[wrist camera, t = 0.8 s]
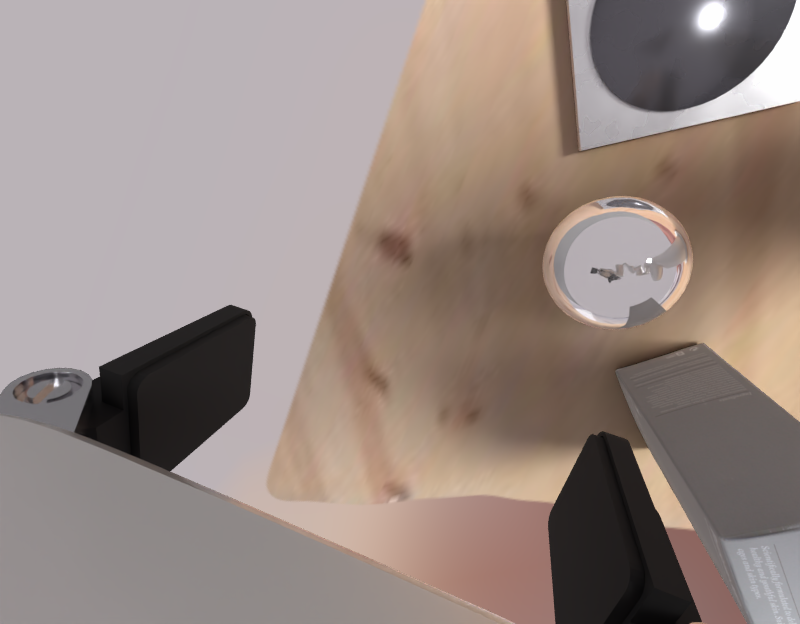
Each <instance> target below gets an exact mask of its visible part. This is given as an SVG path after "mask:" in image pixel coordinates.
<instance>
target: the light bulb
mask: <svg viewBox="0 0 800 624" xmlns="http://www.w3.org/2000/svg"><path fill="white" fill-rule="evenodd" d="M692 268H693V251H692V246H691V243H690V240H689V236H688V234H687V232H686V230H685V229H684V227H683V225H682V224H681V222H680V221H679V220H678V219H677V218H676V217H675V216H674V215H673V214H672V213H671V212H669V211H668V210H666V209H664V208H663V207H661V206H660V205H658V204H656V203H654V202H652V201H649V200H646V199H643V198H639V197H632V196H611V197H606V198H602V199H597V200H594V201H591V202H589V203H587V204H584V205H582V206H580V207H579V208H577V209H576V210H574V211H572V212H571V213H570V214H568V215H567V216H566V217H565V218H564V219H563V220H562V221H561V222H560V223H559V224H558V226H557V227H556V228H555V230H554V231H553V232H552V234H551V236H550V238H549V240H548V242H547V244H546V248H545V252H544V255H543V266H542V271H543V278H544V283H545V285H546V288H547V290H548V293H549V294H550V296H551V297H552V299H553V300H554V302H555V303H556V305H557V306H558V307H559V308H560V309H561V310H562V311H563V312H564V313H565V314H566V315H568V316H570V317H571V318H573V319H574V320H576V321H578V322H580V323H583V324H585V325H588V326H591V327H595V328H600V329H606V330H621V329H629V328H633V327H637V326H640V325H644V324H646V323H648V322H650V321H652V320H654V319H656V318H658V317H659V316H661V315H662V314H664V313H665V312H666V311H668V310H669V309H670V308H671V307H672V306H673V305H674V304H675V303H676V302H677V301H678V300H679V298H680V297H681V295H682V294H683V292H684V291H685V289H686V287H687V285H688V282H689V280H690V278H691V273H692Z"/></svg>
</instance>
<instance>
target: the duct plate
mask: <svg viewBox="0 0 800 624" xmlns="http://www.w3.org/2000/svg"><path fill="white" fill-rule="evenodd" d="M566 6H567V18H568V30H569V42H570V54H571V66H572V78H573V89H574V101H575V113H576V125H577V137H578V149H579V151H582V150H587V149H591V148H595V147H600V146H604V145H609V144H613V143H617V142H622V141H626V140H631V139H635V138H639V137H644V136H648V135H653V134H657V133H662V132H666V131H670V130H675V129H679V128H684V127H688V126H692V125H697V124H701V123H706V122H710V121H715V120H719V119H723V118H728V117H732V116H737V115H741V114H745V113H750V112H754V111H759V110H763V109H767V108H772V107H776V106H781V105H785V104H790V103H794V102H798V101H800V0H566Z"/></svg>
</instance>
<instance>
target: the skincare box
mask: <svg viewBox="0 0 800 624" xmlns="http://www.w3.org/2000/svg"><path fill="white" fill-rule="evenodd" d="M615 372H616V376H617V378H618V381H619V383H620V386H621V389H622V391H623V394H624V396H625V399H626V401H627V403H628V406H629V408H630V411H631V413H632V415H633V418H634V420H635V422H636V424H637V426H638V428H639V430H640V432H641V434H642V436H643V438H644V440H645V442H646V444H647V446H648V448H649V450H650V451H651V453H652V455H653V457H654V459H655V461H656V462H657V464H658V466H659V467H660V469H661V471H662V473H663V474H664V476H665V478H666V480H667V482H668V483H669V485H670V487H671V489H672V490H673V492H674V494H675V495H676V497H677V499H678V501H679V502H680V504H681V506H682V508H683V510H684V511H685V513H686V515H687V517H688V519H689V520H690V522H691V524H692V526H693V528H694V529H695V531H696V533H697V534H698V537H699V538H700V540H701V542H702V544H703V545H704V547H705V549H706V551H707V552H708V554H709V556H710V558H711V559H712V561H713V563H714V565H715V567H716V568H717V570H718V572H719V574H720V575H721V577H722V579H723V581H724V582H725V584H726V586H727V588H728V589H729V591H730V593H731V594H732V596H733V598H734V600H735V602H736V604H737V605H738V607H739V609H740V611H741V613H742V615H743V617H744V618H745V620H746V622H747V624H800V422H799V421H798V420H797V419H795V418H794V417H793V416H792V415H790V414H789V413H788V412H787V411H785V410H784V409H783V408H782V407H781V406H779V405H778V404H777V403H776V402H774V401H773V400H772V399H771V398H770V397H768V396H767V395H766V394H765V393H764V392H762V391H761V390H760V389H759V388H757V387H756V386H755V385H754V384H753V383H751V382H750V381H749V380H748V379H747V378H745V377H744V376H743V375H742V374H741V373H739V372H738V371H737V370H736V369H734V368H733V367H732V366H731V365H729V364H728V363H727V362H726V361H725V360H724V359H722V358H721V357H720V356H719V355H717V354H716V353H715V352H714V351H713V350H712V349H710V348H709V347H708V346H707V345H705V344H704V343H701V344H698V345H694V346H691V347H688V348H685V349H681V350H678V351H675V352H673V353H669V354H666V355H664V356H660V357H657V358H654V359H651V360H648V361H644V362H641V363H638V364H635V365H632V366H628V367H624V368H620V369H617V370H616V371H615Z"/></svg>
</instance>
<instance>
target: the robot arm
mask: <svg viewBox="0 0 800 624" xmlns="http://www.w3.org/2000/svg"><path fill="white" fill-rule="evenodd" d="M255 326H256V322H255V319H254V318H252V315H251V312H250V311H247V310H245V309H242V308H239V307H236V306H233V305H229V306H226V307H224V308H222V309H220V310H218V311H216V312H213V313H211V314H209V315H207V316H205V317H203V318H201V319H199V320H197V321H194V322H193V323H190V324H188V325H186V326H184V327H182V328H180V329H178V330H176V331H174V332H171V333H169V334H167V335H165V336H163V337H161V338H159V339H157V340H155V341H152V342H150V343H148V344H146V345H144V346H142V347H140V348H138V349H136V350H133V351H131V352H129V353H127V354H125V355H123V356H121V357H119V358H117V359H115V360H112V361H111V362H108V363H106V364H104V365H102V366H100V367H99V370H100V377H98V378H96V379H94V380H92V379H91V377H90V376H89V374H87V373H85V372H83V371H81V370H76V369H72V368H54V369H45V370H41V371H37V372H32V373H30V374H27V375H24V376H22V377H19V378H18V379H16V380H14V381H13V382H11V383H10V384H9V385H8V386H7V387H6V388H5V389H4V390H3V391H2V393H1V394H0V624H515V623H513V622H511V621H509V620H507V619H505V618H502V617H500V616H498V615H496V614H494V613H491V612H489V611H487V610H485V609H483V608H480V607H478V606H476V605H474V604H471V603H469V602H467V601H465V600H462V599H460V598H458V597H456V596H453V595H451V594H449V593H447V592H444V591H442V590H440V589H438V588H435V587H433V586H431V585H429V584H426V583H424V582H422V581H420V580H417V579H415V578H412V577H411V576H408V575H406V574H404V573H402V572H399V571H397V570H395V569H392V568H390V567H388V566H386V565H384V564H381V563H379V562H377V561H374V560H372V559H370V558H368V557H366V556H363V555H361V554H359V553H356V552H354V551H352V550H350V549H347V548H345V547H343V546H340V545H338V544H336V543H333V542H331V541H329V540H326V539H325V538H322V537H320V536H318V535H315V534H313V533H311V532H309V531H306V530H304V529H302V528H299V527H297V526H295V525H292V524H290V523H288V522H285V521H283V520H281V519H279V518H276V517H274V516H272V515H270V514H267V513H265V512H263V511H260V510H258V509H256V508H253V507H251V506H249V505H247V504H244V503H242V502H239V501H237V500H235V499H233V498H230V497H228V496H225V495H223V494H221V493H219V492H216V491H214V490H211V489H209V488H207V487H205V486H202V485H200V484H198V483H195V482H193V481H191V480H188V479H186V478H184V477H181V476H179V475H177V474H175V473H172V472H170V471H171V470H172V469H174V468H175V467H176V466H177V465H178V464H179V463H180V462H182V461H183V460H184V459H185V458H186V457H187V456H188V455H190V454H191V453H192V452H193V451H194V450H195V449H197V448H198V447H199V446H200V445H201V444H202V443H203V442H204V441H206V440H207V439H208V438H209V437H210V436H211V435H213V434H214V433H215V432H216V431H217V430H218V429H220V428H221V427H222V426H223V425H224V424H225V423H226V422H227V421H229V420H230V419H231V418H232V417H233V416H234V415H236V414H237V413H238V412H239V411H240V410H241V409H242V408H243V407H244V406H245V405H246V404H247V402H248V400H249V396H250V387H251V375H252V363H253V350H254V339H255ZM548 530H549V544H550V557H551V570H552V583H553V596H554V609H555V622H556V624H706V623H703V622H702V621H701V618H700V615H699V613H698V610H697V608H696V605H695V603H694V600H693V598H692V596H691V593H690V591H689V588H688V585H687V583H686V580H685V578H684V575H683V573H682V570H681V568H680V565H679V563H678V560H677V558H676V555H675V553H674V550H673V548H672V545H671V543H670V540H669V538H668V535H667V532H666V530H665V527H664V525H663V522H662V520H661V517H660V515H659V513H658V512H657V510H656V509H655V507H654V505H653V502H652V500H651V497H650V494H649V492H648V489H647V487H646V484H645V482H644V479H643V477H642V474H641V472H640V469H639V466H638V464H637V461H636V459H635V456H634V454H633V451H632V449H631V446H630V443H629V442H628V440H626V439H624V438H621V437H618V436H615V435H612V434H609V433H606V432H603V431H602V432H600V433H599V434H598V435H594V434H591V435H590V436H589V438H588V439H587V441H586V443H585V445H584V447H583V449H582V451H581V453H580V455H579V457H578V459H577V461H576V463H575V465H574V467H573V469H572V471H571V473H570V475H569V477H568V479H567V481H566V482H565V484H564V486H563V488H562V490H561V492H560V494H559V496H558V498H557V500H556V502H555V504H554V506H553V508H552V510H551V512H550V516H549V521H548Z"/></svg>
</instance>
